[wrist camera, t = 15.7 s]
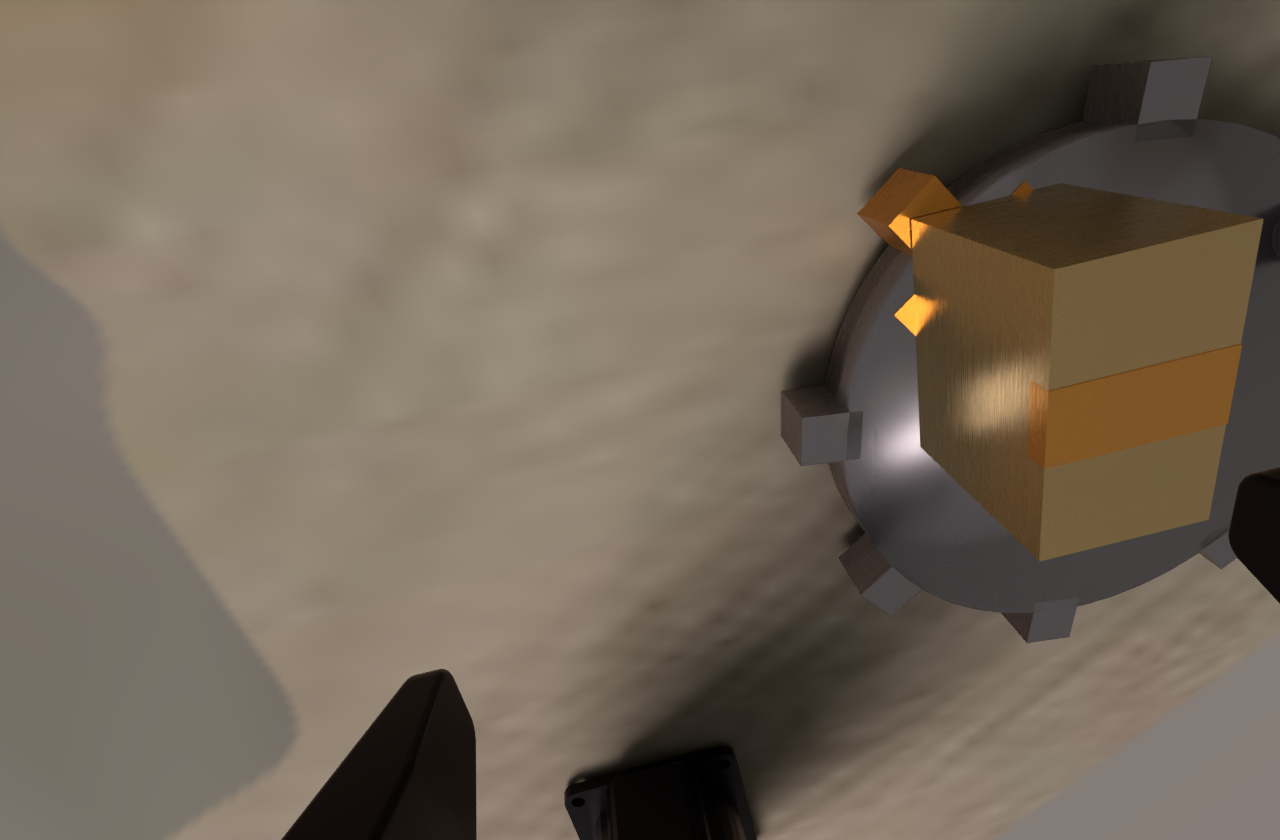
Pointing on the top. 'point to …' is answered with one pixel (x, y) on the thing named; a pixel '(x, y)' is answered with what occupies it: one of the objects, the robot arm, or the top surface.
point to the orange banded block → (1080, 358)
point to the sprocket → (887, 360)
